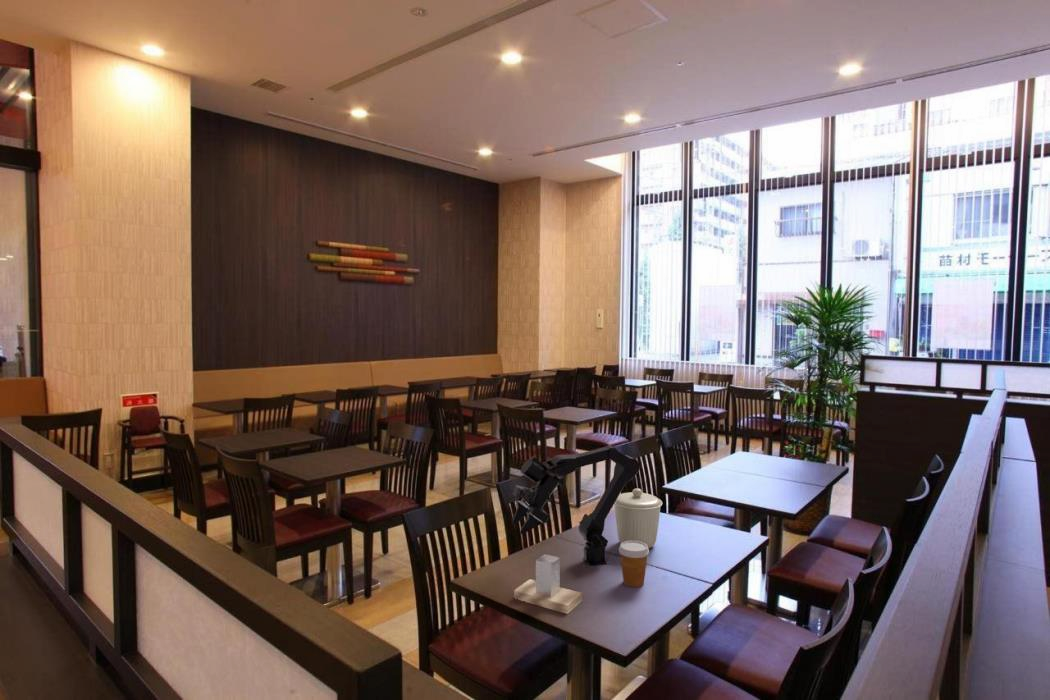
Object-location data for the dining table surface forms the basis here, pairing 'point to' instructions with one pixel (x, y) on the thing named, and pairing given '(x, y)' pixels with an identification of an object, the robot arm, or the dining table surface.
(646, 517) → the canister
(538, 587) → the white rectangular block
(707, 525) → the dining table surface
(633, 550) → the disposable coffee cup
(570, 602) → the birch block
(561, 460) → the robot arm
